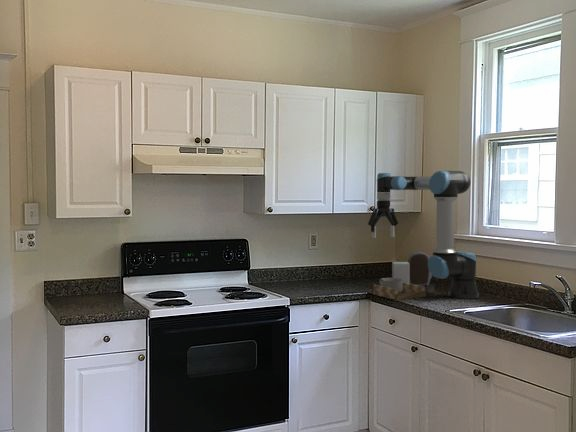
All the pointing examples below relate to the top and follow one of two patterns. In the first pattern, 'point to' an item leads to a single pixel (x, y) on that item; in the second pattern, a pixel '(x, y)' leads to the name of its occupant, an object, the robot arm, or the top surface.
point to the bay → (406, 291)
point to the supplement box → (401, 271)
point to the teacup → (392, 283)
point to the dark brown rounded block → (419, 269)
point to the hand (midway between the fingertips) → (383, 237)
